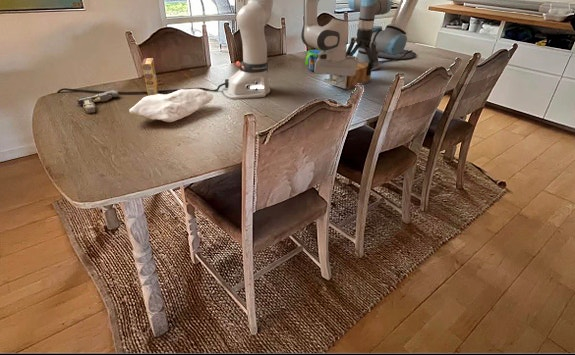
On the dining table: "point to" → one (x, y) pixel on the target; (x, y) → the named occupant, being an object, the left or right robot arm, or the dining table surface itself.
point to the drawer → (338, 81)
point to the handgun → (95, 100)
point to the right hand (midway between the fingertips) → (358, 72)
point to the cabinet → (359, 75)
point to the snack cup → (312, 58)
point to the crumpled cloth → (171, 104)
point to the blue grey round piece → (408, 55)
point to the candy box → (150, 76)
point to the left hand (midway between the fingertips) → (333, 83)
